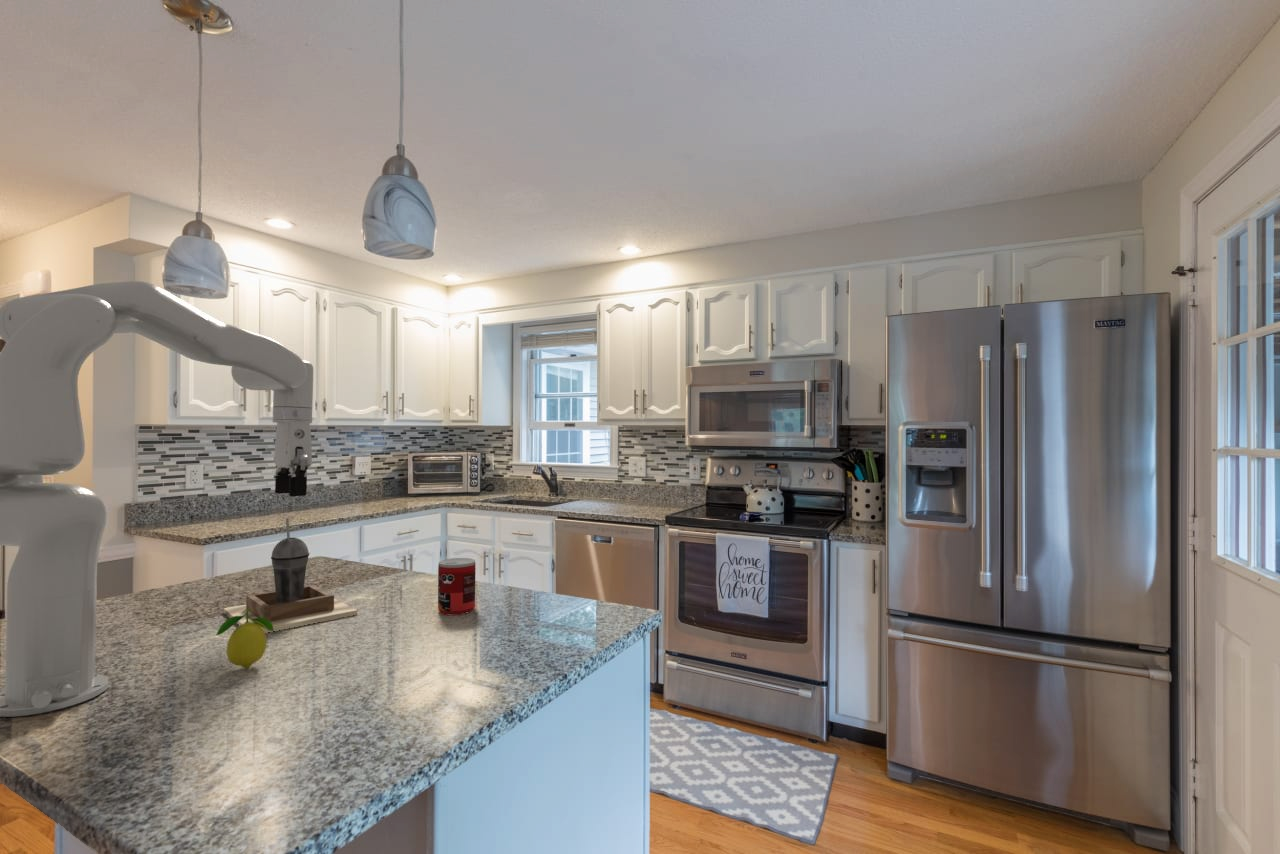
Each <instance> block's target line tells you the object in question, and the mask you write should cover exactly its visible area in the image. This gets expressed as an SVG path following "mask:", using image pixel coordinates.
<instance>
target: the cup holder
mask: <svg viewBox="0 0 1280 854" xmlns="http://www.w3.org/2000/svg"><path fill="white" fill-rule="evenodd" d="M245 596H246V602H245V604H240V605H235V606H229V607H223V611H222V613H223V614H224V615H225V614H226V615H227V616H226V615H225V616H226V617H228V619H229V618H231V617H234V616H244V615H245V614H246V613H247V608H248V617H249V618H251V619H254V618H266V619H267V620H269V621H270V622H271V624H272V625H273V630H274V631H275V632H279V630H280V631H285V630H290V629H294V627H295V628H298V627H299V626H300V627H304V625H305V626H309V625H308V624H310V625H314V624H313V623H315V624H318V622H320V623H324V622H327V621H328V622H329V621H334V620H338V618H339V619H343V618H342V617H344V618H349V617H354V616H357V615H358V610H357V608H354V607H352V606H349V605H348V604H346V603H345V602H342V601H341V600H338V599H336V598H335V595H334V594H332V593H330V592H328V591H326V590H324V589H323V588H320V587H318V586H317V585H315V584H309V585H304V592H303V600H298V601H292V602H286V603H280V604H276V591H275V590H272V591H266V592H260V593H253V594H248V595H245ZM246 615H247V614H246ZM246 615H245V616H244V617H243V618H242V619H240V620H239V621H238V622H237V624H238V625H239V626H241V625H243V624H244V623H245V622H246ZM353 615H354V616H353ZM348 616H349V617H348ZM249 618H248V621H249V622H251V623H254V622H253V621H252V620H251V619H249ZM237 624H236V625H237ZM238 625H237V626H238ZM239 626H238V627H239ZM300 627H299V628H300ZM261 628H262V627H261ZM289 628H290V629H289ZM262 629H263V631H264V633H265V634H269V633H268V632H270V633H274V632H273V631H270V630H267V629H264V628H262ZM284 629H285V630H284Z"/></svg>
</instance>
